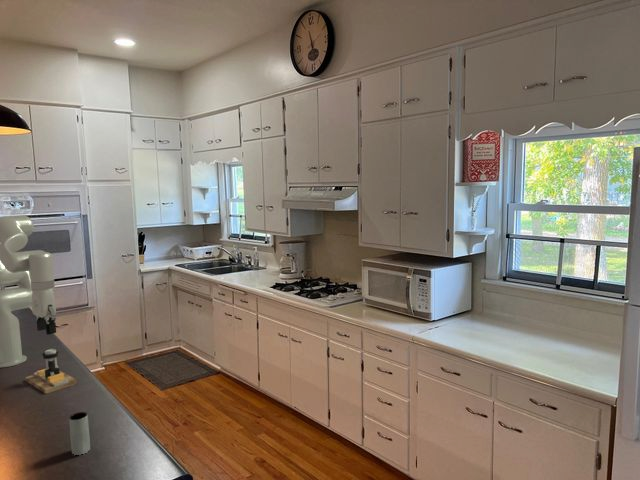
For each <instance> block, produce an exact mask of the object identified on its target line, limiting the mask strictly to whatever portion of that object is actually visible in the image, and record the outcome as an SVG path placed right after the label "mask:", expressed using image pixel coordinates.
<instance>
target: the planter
mask: <svg viewBox="0 0 640 480" xmlns="http://www.w3.org/2000/svg"><path fill="white" fill-rule="evenodd" d="M68 423H69V435H70V445H71V454H72V455H73V454H74V455H73V456H75V455H79V456H82V455H81V454H83V455H85V453H86V454H88V453H89V452H90V451H91V441H90V430H89V429H90V427H89V414H88V413H87V412H84V411H79V412H76V413H73V414H71V415H69V418H68ZM89 450H90V451H89ZM88 451H89V452H88Z"/></svg>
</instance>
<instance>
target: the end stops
mask: <svg viewBox="0 0 640 480" xmlns="http://www.w3.org/2000/svg"><path fill="white" fill-rule="evenodd" d="M48 369H49V367H48ZM45 370H46V368H44V369H41V370H37V371H36V372H37V375H38V376H42V375H40V374H43V373H45ZM63 373H64V372H63ZM63 373H60V374H57V375H53V376H50V377H48V382H53V381H57V380H60V379H63V378H64V374H63ZM43 375H45V374H43Z"/></svg>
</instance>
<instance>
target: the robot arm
mask: <svg viewBox="0 0 640 480" xmlns="http://www.w3.org/2000/svg"><path fill="white" fill-rule="evenodd" d="M34 225H35V224H34V222H33V220H32V219H31V217H29V216H27V215H23V214H21V215H3V216H0V243H1V244H0V288H2V287H10V286H15V285H17V287H12V288H5V289H0V368H9V367H13V366H17V365H20V364H22V363H24V362H26V361H27V360H28V359H27V358H28V357H27V356H26V355H24V354H23V351H22V340H21V330H20V329H21V328H20V320H19V318H18V317H17V316H15V314H13V313H12V312H14V311H18V310H22V309H29V308H31V310H32V314H33V315H34V316H35V319H36V329H37V331H38V332H41V331H45V333H46V335H52V334H56V333H57V326H56V323H57V322H56V319H57V317H56V315H57V306H56V305H57V304H56V300H55V291H54V290H55V289H56V288H55V287H56V286H55V277H54V263H53V255H52V253H50V252H48V251H47V252H46V251H45V250H41V249H37V250H25V251H20V250H22V249H24V248H25V247H26V245H27V244H28V241H29V239H28V237H29V236H31V235H32V234H33V232H34V230H35V226H34Z"/></svg>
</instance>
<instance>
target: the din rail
mask: <svg viewBox="0 0 640 480" xmlns="http://www.w3.org/2000/svg"><path fill="white" fill-rule="evenodd" d="M33 375H35V376H37V377H38V378H40V379H42V380H43V381H45V382H47V383H49V384H50V385H52V386H54V387H56V386H59V385H62V384H65V383H68V382H69V380H67V379H65V378H63V379H60V380H57V381H53V382H48V378H46V377H40V376H38V375H37V371H36V372H33ZM42 376H45V375H42Z"/></svg>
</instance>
